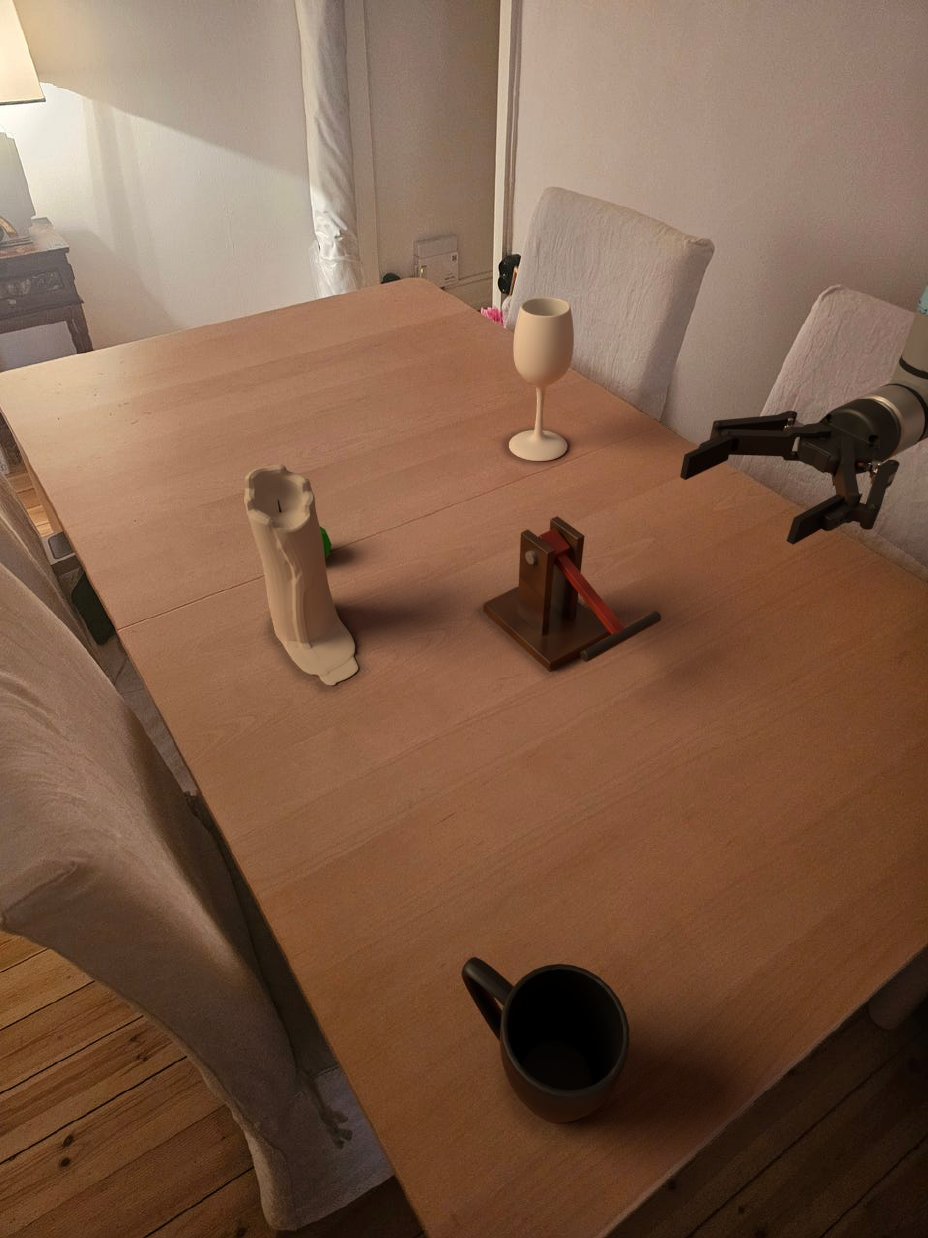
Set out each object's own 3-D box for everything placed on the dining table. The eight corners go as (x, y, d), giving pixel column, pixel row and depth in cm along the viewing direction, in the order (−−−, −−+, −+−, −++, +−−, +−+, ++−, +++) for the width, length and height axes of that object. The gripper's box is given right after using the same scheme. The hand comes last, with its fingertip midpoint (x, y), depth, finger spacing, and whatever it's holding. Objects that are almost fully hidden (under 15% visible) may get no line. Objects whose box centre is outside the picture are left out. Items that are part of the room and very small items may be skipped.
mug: (502, 966, 65) (504, 906, 58) (635, 1070, 59) (654, 1016, 53) (434, 1053, 60) (428, 998, 54) (572, 1174, 54) (584, 1129, 48)
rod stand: (611, 637, 92) (624, 546, 83) (549, 671, 88) (556, 580, 79) (542, 582, 99) (548, 493, 91) (483, 611, 95) (483, 521, 87)
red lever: (656, 626, 85) (665, 614, 83) (584, 667, 81) (591, 655, 79) (576, 528, 90) (582, 514, 88) (503, 561, 86) (509, 548, 84)
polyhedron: (289, 552, 104) (283, 521, 101) (327, 543, 105) (322, 512, 102) (298, 575, 101) (292, 544, 97) (337, 566, 102) (333, 535, 99)
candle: (314, 694, 86) (283, 542, 73) (265, 619, 95) (229, 470, 81) (375, 667, 89) (356, 515, 75) (321, 597, 98) (296, 449, 84)
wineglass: (497, 450, 122) (499, 310, 107) (528, 425, 127) (534, 288, 112) (548, 468, 118) (557, 325, 104) (577, 441, 123) (590, 302, 109)
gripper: (962, 513, 84) (833, 594, 75) (767, 416, 99) (640, 474, 90) (993, 449, 79) (859, 528, 70) (783, 357, 94) (650, 412, 85)
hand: (736, 497), depth 80 cm, fingers open, 13 cm apart
